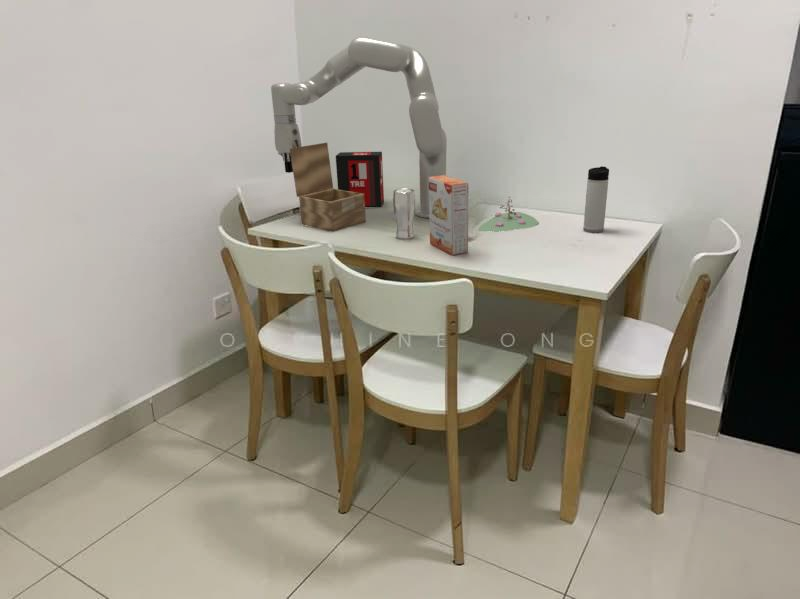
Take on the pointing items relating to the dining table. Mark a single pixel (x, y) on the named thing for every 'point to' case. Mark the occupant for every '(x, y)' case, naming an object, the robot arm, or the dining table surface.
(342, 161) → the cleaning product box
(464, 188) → the cracker box
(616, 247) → the dining table surface
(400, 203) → the beer glass
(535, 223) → the plant
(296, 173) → the lid
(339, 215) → the box
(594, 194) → the travel mug
